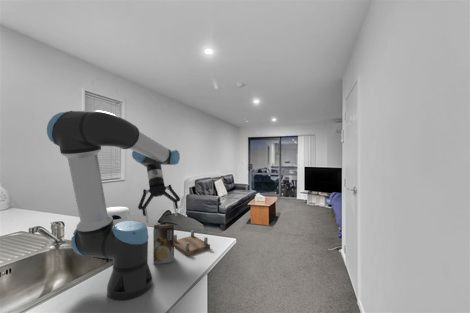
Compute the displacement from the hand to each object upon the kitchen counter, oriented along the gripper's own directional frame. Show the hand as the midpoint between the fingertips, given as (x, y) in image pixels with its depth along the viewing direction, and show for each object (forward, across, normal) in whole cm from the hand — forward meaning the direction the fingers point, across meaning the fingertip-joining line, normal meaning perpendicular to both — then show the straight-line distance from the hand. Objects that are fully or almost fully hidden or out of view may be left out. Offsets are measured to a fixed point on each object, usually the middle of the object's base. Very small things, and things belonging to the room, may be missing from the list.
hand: (162, 218), depth 108 cm
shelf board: (+15, -12, -14) cm, 23 cm away
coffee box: (+19, +2, -3) cm, 19 cm away
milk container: (0, +27, -28) cm, 39 cm away
